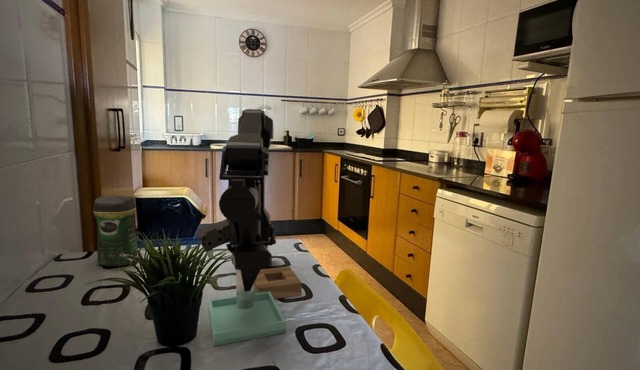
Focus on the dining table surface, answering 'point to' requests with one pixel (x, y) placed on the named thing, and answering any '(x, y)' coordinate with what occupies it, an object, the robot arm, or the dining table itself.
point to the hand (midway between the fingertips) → (245, 285)
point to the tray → (245, 319)
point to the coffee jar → (115, 229)
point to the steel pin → (244, 294)
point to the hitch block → (278, 282)
